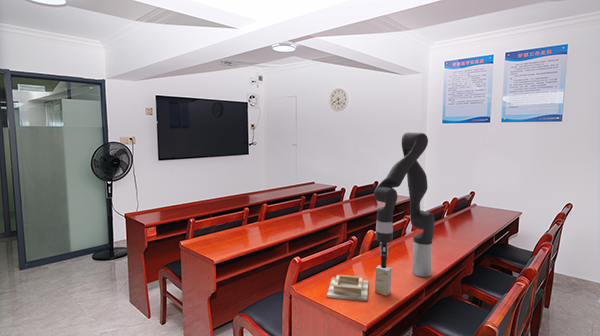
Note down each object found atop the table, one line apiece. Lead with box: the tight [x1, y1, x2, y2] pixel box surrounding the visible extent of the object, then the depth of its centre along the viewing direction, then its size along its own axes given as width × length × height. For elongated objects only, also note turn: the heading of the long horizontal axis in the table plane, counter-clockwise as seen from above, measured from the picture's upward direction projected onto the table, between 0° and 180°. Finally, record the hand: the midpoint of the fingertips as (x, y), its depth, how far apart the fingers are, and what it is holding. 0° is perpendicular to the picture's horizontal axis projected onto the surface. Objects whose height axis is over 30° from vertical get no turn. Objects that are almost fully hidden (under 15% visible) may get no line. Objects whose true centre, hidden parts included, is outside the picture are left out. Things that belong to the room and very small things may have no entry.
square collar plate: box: [326, 274, 369, 302], centre depth 161 cm, size 18×18×4 cm
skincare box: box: [374, 264, 392, 296], centre depth 158 cm, size 6×4×12 cm
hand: (383, 264), depth 156 cm, fingers open, 8 cm apart
